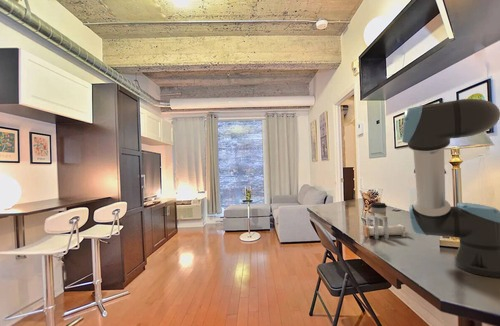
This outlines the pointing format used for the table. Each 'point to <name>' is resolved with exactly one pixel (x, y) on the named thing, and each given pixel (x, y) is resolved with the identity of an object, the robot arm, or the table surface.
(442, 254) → the table surface
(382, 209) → the coffee cup
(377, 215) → the collar
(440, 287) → the table surface
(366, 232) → the tube
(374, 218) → the collar
